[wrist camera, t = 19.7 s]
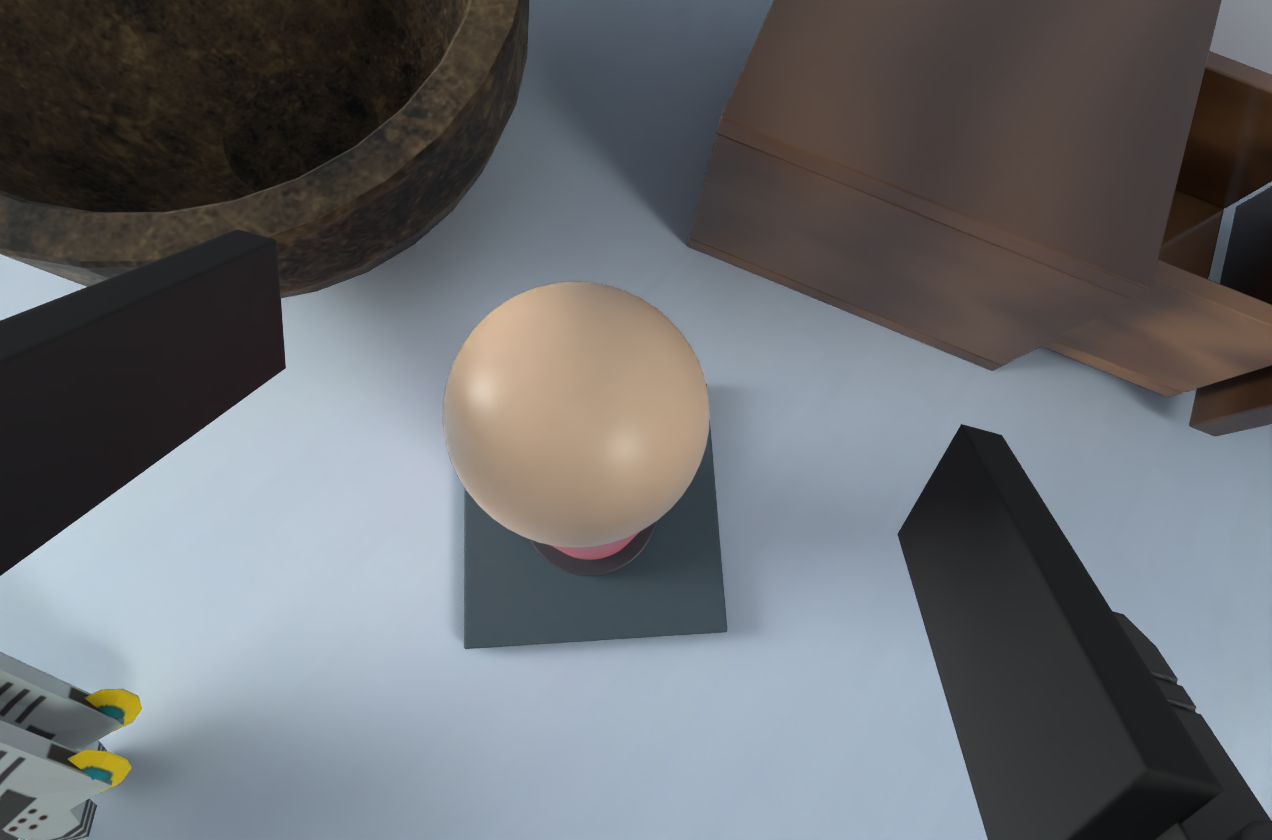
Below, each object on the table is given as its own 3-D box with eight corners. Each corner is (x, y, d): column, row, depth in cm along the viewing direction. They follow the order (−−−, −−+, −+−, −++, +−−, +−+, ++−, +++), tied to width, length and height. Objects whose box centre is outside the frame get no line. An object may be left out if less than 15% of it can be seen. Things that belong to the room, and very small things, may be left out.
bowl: (-58, 237, 28) (-413, 56, 18) (238, -117, 33) (85, -409, 23) (397, 464, 27) (281, 402, 17) (632, 62, 32) (647, -165, 22)
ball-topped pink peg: (676, 474, 27) (824, 284, 9) (625, 597, 25) (683, 653, 8) (558, 424, 27) (480, 143, 9) (502, 544, 26) (291, 481, 8)
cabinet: (1060, 143, 32) (1225, -10, 23) (992, 371, 29) (1152, 289, 21) (780, 33, 32) (843, -155, 24) (685, 246, 30) (720, 117, 21)
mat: (724, 630, 26) (727, 632, 25) (466, 647, 25) (463, 649, 25) (704, 386, 28) (706, 382, 27) (467, 395, 27) (464, 391, 27)
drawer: (1341, 247, 30) (1548, 156, 24) (1302, 473, 28) (1524, 442, 21) (985, 108, 31) (1090, -18, 24) (915, 315, 28) (1012, 237, 22)
